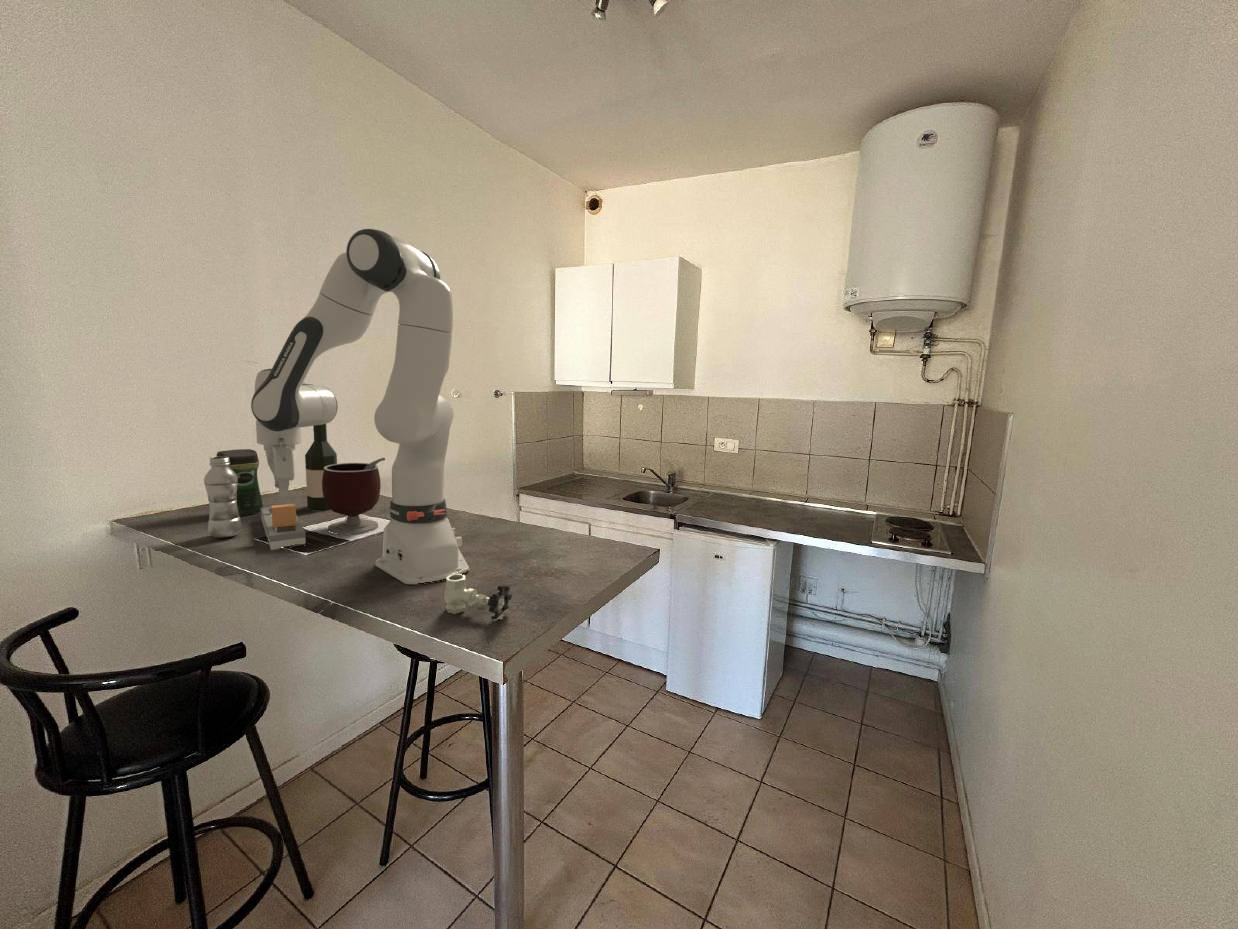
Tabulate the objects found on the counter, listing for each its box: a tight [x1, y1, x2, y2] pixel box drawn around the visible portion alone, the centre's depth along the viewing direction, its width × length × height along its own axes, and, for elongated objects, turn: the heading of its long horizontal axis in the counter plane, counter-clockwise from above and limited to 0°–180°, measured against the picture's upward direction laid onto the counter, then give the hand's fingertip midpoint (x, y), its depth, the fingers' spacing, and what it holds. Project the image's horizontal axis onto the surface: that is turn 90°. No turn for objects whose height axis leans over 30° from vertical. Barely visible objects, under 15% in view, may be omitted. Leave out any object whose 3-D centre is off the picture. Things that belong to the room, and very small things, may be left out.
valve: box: [443, 574, 513, 619], centre depth 90 cm, size 7×7×12 cm
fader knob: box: [270, 503, 297, 533], centre depth 122 cm, size 3×5×7 cm, turn 129°
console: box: [260, 506, 307, 551], centre depth 128 cm, size 28×7×4 cm, turn 39°
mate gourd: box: [322, 457, 386, 535], centre depth 133 cm, size 16×14×20 cm
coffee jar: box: [215, 448, 264, 517], centre depth 140 cm, size 10×8×19 cm
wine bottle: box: [304, 423, 338, 512], centre depth 149 cm, size 8×8×30 cm
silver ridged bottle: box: [203, 456, 243, 539], centre depth 121 cm, size 6×7×20 cm
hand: (281, 491), depth 121 cm, fingers open, 8 cm apart
